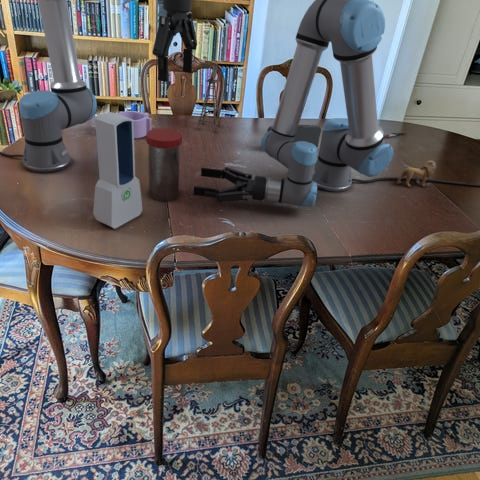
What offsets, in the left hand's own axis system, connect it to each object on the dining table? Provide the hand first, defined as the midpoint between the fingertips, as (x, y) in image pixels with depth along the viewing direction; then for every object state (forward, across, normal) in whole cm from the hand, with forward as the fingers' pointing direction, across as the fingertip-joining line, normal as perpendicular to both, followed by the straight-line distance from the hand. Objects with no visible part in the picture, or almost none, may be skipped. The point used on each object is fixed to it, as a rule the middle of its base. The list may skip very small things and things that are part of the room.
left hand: (175, 76), depth 135 cm
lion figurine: (+35, -52, +72) cm, 95 cm away
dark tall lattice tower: (+36, -57, -17) cm, 69 cm away
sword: (+35, -96, +54) cm, 115 cm away
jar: (+35, +7, +1) cm, 36 cm away
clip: (+36, -30, -40) cm, 62 cm away
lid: (+16, +7, +1) cm, 17 cm away
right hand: (+29, +4, +11) cm, 31 cm away
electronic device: (+35, +26, -2) cm, 44 cm away
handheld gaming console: (+35, -56, +22) cm, 70 cm away
